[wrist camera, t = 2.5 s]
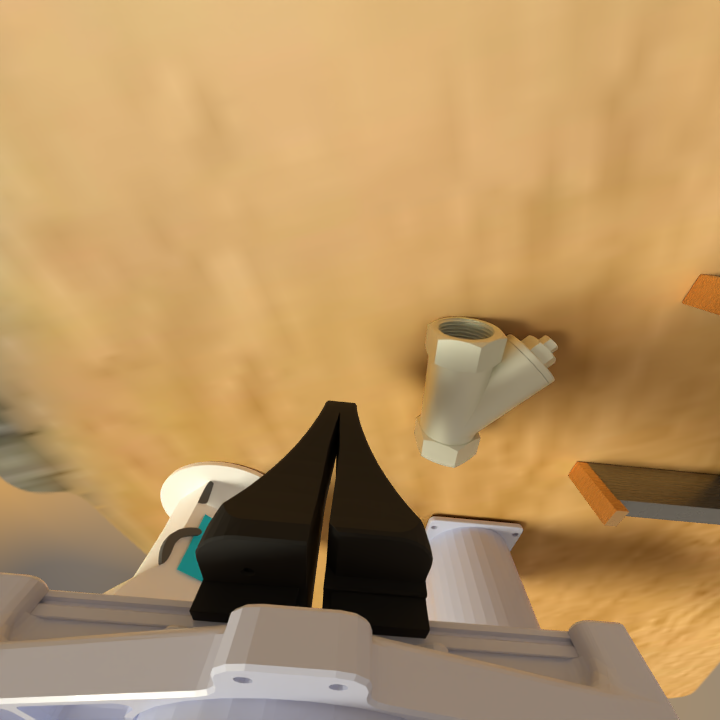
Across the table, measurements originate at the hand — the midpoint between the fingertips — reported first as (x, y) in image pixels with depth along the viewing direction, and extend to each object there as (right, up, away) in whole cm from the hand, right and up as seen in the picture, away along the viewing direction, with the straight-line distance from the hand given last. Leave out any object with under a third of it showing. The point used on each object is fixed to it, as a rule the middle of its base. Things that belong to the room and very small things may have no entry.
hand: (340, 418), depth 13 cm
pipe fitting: (+8, +2, +5) cm, 10 cm away
